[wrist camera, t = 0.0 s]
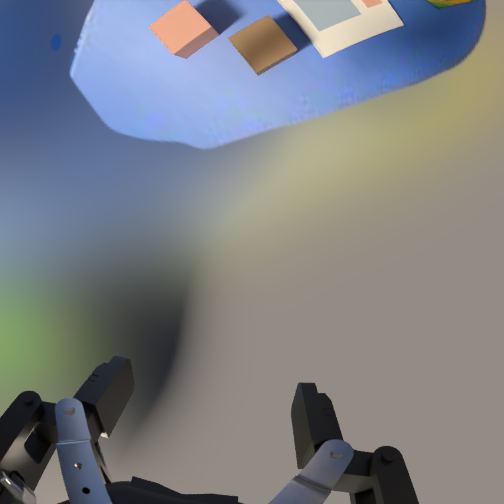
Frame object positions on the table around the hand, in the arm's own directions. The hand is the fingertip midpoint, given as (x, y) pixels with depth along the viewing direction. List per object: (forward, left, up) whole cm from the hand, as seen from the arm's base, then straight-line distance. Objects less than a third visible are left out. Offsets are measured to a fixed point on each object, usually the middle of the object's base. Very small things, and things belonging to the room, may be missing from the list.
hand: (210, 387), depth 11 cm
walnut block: (-14, +11, -32) cm, 36 cm away
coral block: (-22, +5, -32) cm, 39 cm away
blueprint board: (-16, +24, -31) cm, 43 cm away
